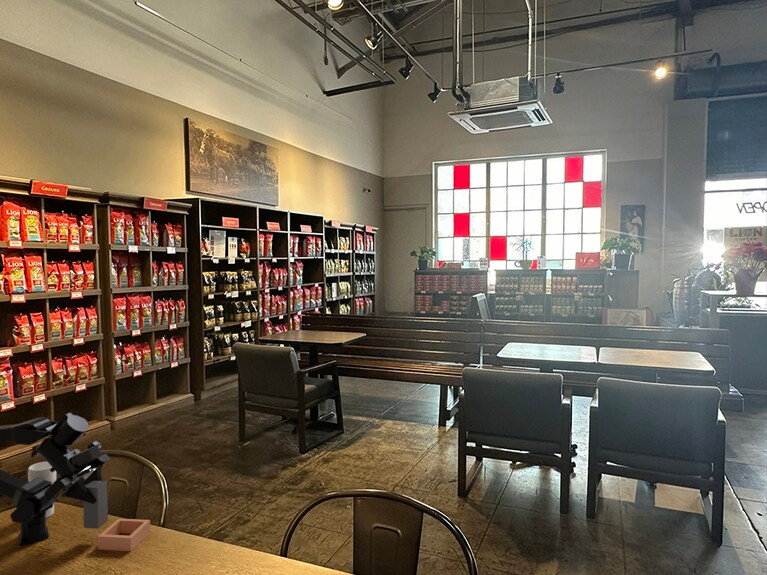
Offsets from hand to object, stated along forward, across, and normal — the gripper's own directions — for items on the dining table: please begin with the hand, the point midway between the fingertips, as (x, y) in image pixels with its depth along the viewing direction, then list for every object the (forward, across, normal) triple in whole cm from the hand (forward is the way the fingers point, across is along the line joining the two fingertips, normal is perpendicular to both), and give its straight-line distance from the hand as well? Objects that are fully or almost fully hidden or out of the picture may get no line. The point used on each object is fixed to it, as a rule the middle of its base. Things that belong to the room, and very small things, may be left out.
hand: (100, 498), depth 131 cm
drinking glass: (-10, +11, +26) cm, 30 cm away
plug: (+4, 0, +6) cm, 7 cm away
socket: (+13, 0, +4) cm, 13 cm away
